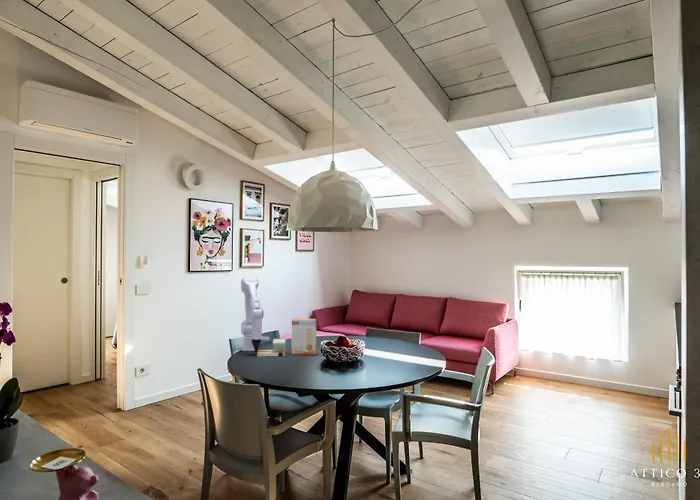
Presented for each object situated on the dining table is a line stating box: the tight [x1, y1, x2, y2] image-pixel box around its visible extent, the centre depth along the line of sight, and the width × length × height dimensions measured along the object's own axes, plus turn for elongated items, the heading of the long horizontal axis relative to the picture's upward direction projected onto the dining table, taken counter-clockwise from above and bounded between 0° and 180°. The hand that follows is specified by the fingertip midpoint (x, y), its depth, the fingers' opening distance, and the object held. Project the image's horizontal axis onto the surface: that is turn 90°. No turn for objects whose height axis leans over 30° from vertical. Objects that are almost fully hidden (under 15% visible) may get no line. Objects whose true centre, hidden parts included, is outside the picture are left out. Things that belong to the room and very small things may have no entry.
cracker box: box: [290, 317, 317, 356], centre depth 259 cm, size 14×6×21 cm, turn 84°
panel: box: [256, 349, 280, 358], centre depth 254 cm, size 8×12×2 cm, turn 96°
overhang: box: [272, 338, 287, 357], centre depth 257 cm, size 12×7×8 cm, turn 7°
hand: (256, 352), depth 254 cm, fingers closed
